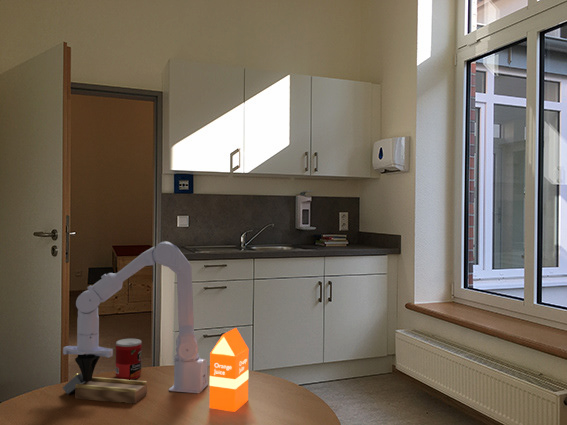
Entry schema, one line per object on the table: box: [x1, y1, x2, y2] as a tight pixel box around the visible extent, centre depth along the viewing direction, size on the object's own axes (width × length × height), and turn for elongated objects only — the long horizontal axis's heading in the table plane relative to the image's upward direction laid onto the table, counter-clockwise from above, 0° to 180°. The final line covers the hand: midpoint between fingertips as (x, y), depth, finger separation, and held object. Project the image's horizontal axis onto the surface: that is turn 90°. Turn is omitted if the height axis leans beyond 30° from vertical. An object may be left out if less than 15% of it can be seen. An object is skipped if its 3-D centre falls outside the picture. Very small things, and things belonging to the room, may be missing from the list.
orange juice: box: [209, 327, 250, 413], centre depth 135 cm, size 8×9×20 cm
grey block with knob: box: [62, 372, 84, 395], centre depth 142 cm, size 6×4×3 cm
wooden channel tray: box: [74, 376, 148, 405], centre depth 139 cm, size 18×7×4 cm, turn 79°
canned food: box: [115, 338, 143, 380], centre depth 157 cm, size 8×8×11 cm
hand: (87, 380), depth 141 cm, fingers closed
